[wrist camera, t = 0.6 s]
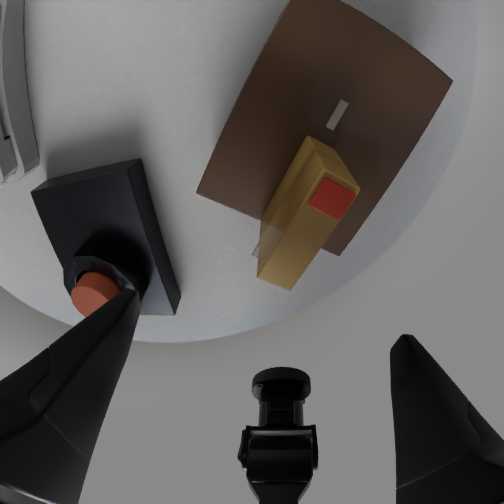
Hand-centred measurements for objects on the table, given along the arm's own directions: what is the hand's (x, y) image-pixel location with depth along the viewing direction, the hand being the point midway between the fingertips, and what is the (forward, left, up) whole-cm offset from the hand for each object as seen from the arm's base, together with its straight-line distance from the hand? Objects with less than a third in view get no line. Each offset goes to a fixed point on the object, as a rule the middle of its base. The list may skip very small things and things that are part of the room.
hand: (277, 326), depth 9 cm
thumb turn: (+2, -1, -6) cm, 7 cm away
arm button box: (-3, +13, -12) cm, 18 cm away
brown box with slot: (+5, -3, -12) cm, 13 cm away
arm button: (-5, +13, -8) cm, 16 cm away
